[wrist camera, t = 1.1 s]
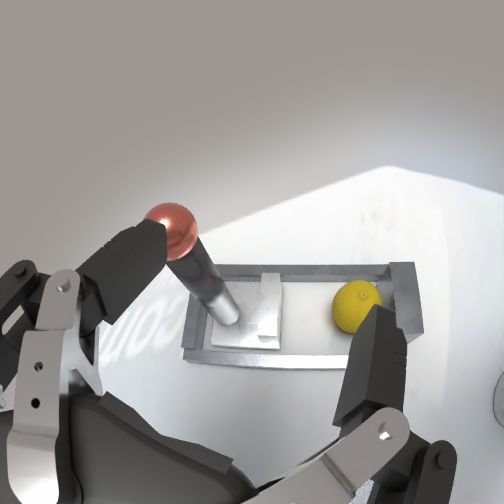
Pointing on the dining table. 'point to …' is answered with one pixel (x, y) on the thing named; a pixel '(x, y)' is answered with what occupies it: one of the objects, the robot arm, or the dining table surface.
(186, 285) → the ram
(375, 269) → the frame
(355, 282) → the lemon
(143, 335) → the dining table surface
